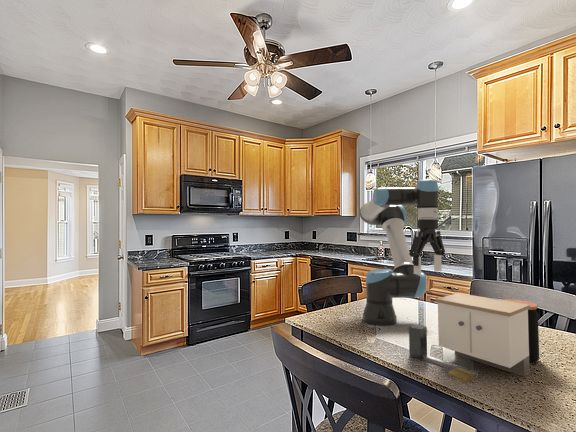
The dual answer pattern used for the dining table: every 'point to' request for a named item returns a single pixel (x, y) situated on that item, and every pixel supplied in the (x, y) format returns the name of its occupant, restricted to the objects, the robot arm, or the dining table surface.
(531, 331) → the coffee jar
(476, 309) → the toe-kick cabinet
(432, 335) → the dining table surface
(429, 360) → the grey post with bar
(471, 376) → the brass block
